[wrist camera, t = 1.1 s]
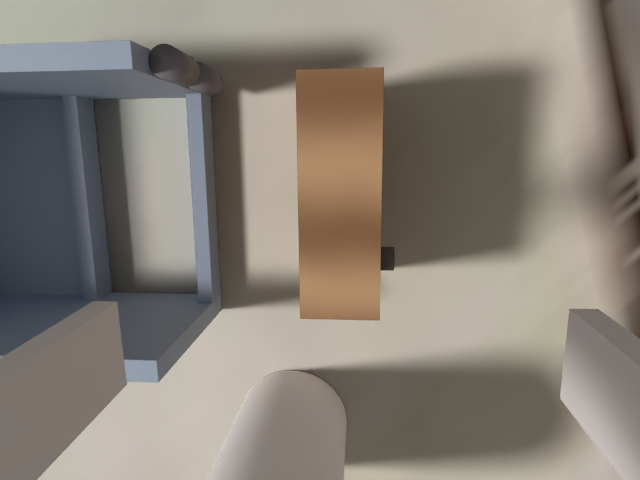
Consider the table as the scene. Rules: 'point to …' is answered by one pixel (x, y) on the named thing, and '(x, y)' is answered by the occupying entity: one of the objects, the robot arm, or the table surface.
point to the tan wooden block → (340, 192)
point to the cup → (285, 432)
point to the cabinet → (94, 194)
